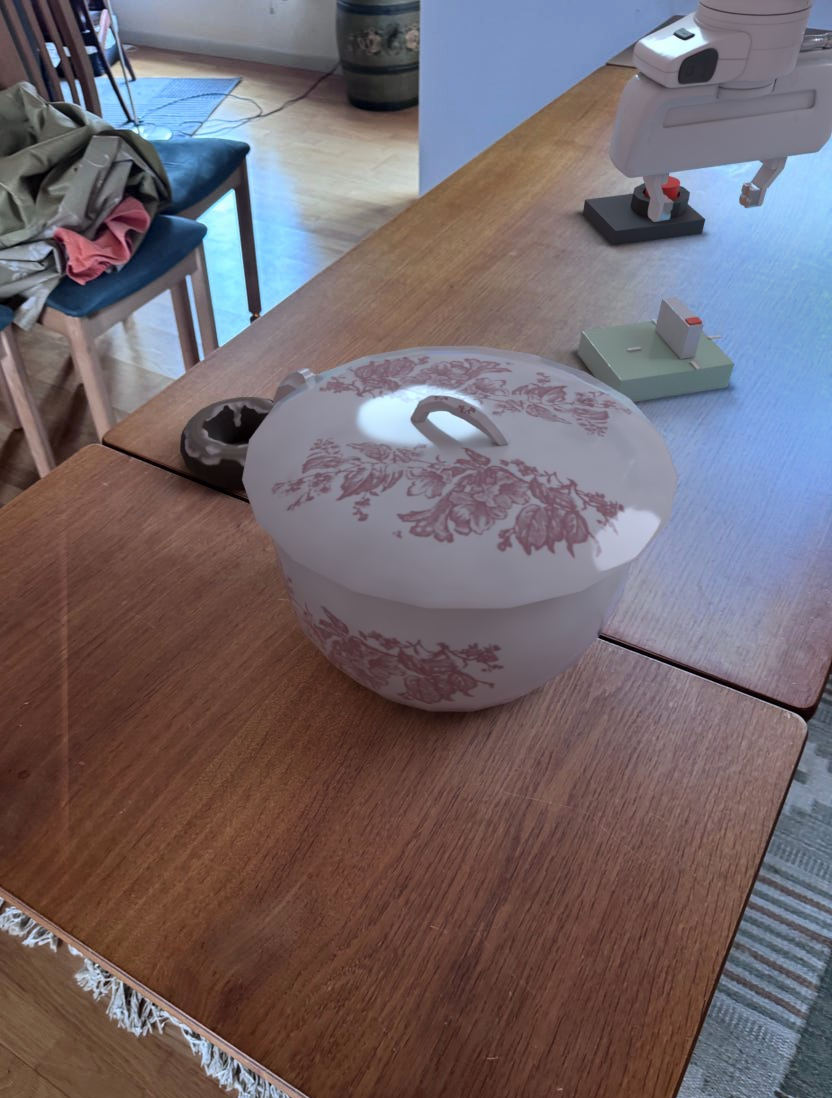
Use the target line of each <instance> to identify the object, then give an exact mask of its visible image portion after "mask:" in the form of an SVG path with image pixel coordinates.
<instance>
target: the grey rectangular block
mask: <svg viewBox="0 0 832 1098" xmlns="http://www.w3.org/2000/svg"><path fill="white" fill-rule="evenodd" d="M656 320H657V323H656V328H655V331H656V332H657V333H658V334H659V335H660V336H661V337H662V339H663V340H664V341H665V342H666V343H667V344H668V345H669V346H670V348H671V349H672V350H673V351H674V352H675V353H676V354H677V356H678V357H679V358H680V359H685V358H692V357H695V356H696V352H697V348H698V345H699V341H700V337H701V334H702V330H703V329H704V326H705V324H704V323H703V320H702V319H701V318H700V317H699V316H697V315H695V313H693V312H692V310H691V309H690V308H689V307H687V305H686V304H685V303H684V302H683V301H682V300H681V299H680V298H679V297H678V296H669V297H662V299H661V303H660V305H659V311H658V314H657V319H656ZM703 331H704V330H703Z"/></svg>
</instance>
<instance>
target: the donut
mask: <svg viewBox="0 0 832 1098" xmlns="http://www.w3.org/2000/svg"><path fill="white" fill-rule="evenodd" d="M273 400H274V399H270V398H265V397H258V396H238V397H231V398H226V399H222V400H219V401H216V402H212V403H211V404H209V405H207V406H205V407H203V408H201V409H200V410H198V411H197V412H196V413H195V414H194V415H192V417H191V418H190V419H189V420H188V421H187V423H186V424H185V426H184V428H183V430H182V431H181V435H180V442H179V452H180V454H181V457H182V459H183V462H184V465H185V466H186V468H187V469H188V470H189V471H190V472H191V473H192V474H193V475H194V476H196V477H197V478H198V479H199V480H201V481H204V482H205V483H207V484H210V485H212V486H214V487H219V488H224V489H229V490H245V487H244V484H243V481H242V478H243V472H244V467H245V461H246V456H247V450H248V445H249V442H246V443H234V442H237V441H242V440H243V441H244V440H250V438H251V437H252V436H253V434H254V433H255V431H256V430H257V429H258V427H259V426H260V425H261V423H262V422H263V421H264V419H265V418H266V416H267V415H268V414H269V412H270V411H271V410H272V408H273V407H274V402H273Z"/></svg>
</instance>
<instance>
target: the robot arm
mask: <svg viewBox="0 0 832 1098" xmlns="http://www.w3.org/2000/svg"><path fill="white" fill-rule="evenodd" d="M814 1H815V0H698V1H697V5H696V6H697V7H696V10H695V11H692V12H690V13H688V14H687V15H685V16H683V17H682V18H680V19H678V20H676V21H675V22H672V23H670V24H669V25H667V26H665V27H663V28H660V29H658V30H657V31H654V32H653V33H650V34H648V35H646V36H644V37H642V38H640V39H639V40H637V42H636V43H635V45H634V47H633V52H632V65H633V66H634V68H636V69H637V70H638V72H637V73H635V74H634V75H632V76H631V78H630V79H629V80H628V82H627V83H626V85H625V86H624V88H623V91H622V93H621V96H620V99H619V102H618V106H617V110H616V114H615V119H614V123H613V127H612V132H611V137H610V144H609V152H608V153H609V155H608V156H609V160H610V161H611V163H612V165H613V166H614V168H616V169H617V171H618V172H620V173H621V174H622V175H623V176H625V177H626V178H628V179H635V178H642V180H643V183H645V186H646V188H647V191H648V194H649V196H650V197H651V198H650V203H649V208H648V217H649V218H650V219H651V220H652V221H653V222H656V221H662V220H668V219H670V217H671V213H670V211H671V210H672V208H673V203H674V202H673V201H672V200H671V199H668V197H667V196H666V195H664V194H663V191H662V188H661V184H662V185H666V184H667V182H668V177H669V176H670V173H671V174H672V173H678V172H686V171H693V170H698V169H699V170H701V169H708V168H715V167H722V166H729V165H736V164H737V165H738V164H744V163H749V162H757V161H758V162H760V163H761V164H762V165H761V166H760V168H759V169H758V170H757V172H756V173H755V174H754V176H753V178H752V179H751V181H750V182H744V183H742V187H741V194H739V199H738V203H739V204H740V205H741V206H743V207H744V208H745V209H751V208H758V207H762V206H763V204H764V200H765V197H766V193H767V190H768V189H769V188H770V186H771V185H772V184H773V183H774V182H775V181H776V179H777V178H778V177H779V176H780V175H781V173H782V172H783V170H784V169H785V168H786V167H785V166H786V164H787V160H788V157H793V156H800V155H802V156H803V155H807V154H815V153H818V152H820V151H821V149H823V148H824V146H826V144H827V143H828V142H829V141H830V139H831V136H832V31H829V32H825V33H823V34H805V33H806V29H807V25H808V22H809V18H810V15H811V11H812V8H813V5H814Z"/></svg>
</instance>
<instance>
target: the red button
mask: <svg viewBox="0 0 832 1098" xmlns="http://www.w3.org/2000/svg"><path fill="white" fill-rule="evenodd" d="M679 186H681V181H680V179H679V178H676V177H674V176H671V175H669V177H668V182H667V184H666V185H662V184H661V188H662V191H663V194H664V195H666V196H667V197H668V199H675V198H677V195H678V191H679ZM645 196H647V197H649V198H651V197H650V196H649V194H648V191H647V188H646V191H645Z"/></svg>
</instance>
